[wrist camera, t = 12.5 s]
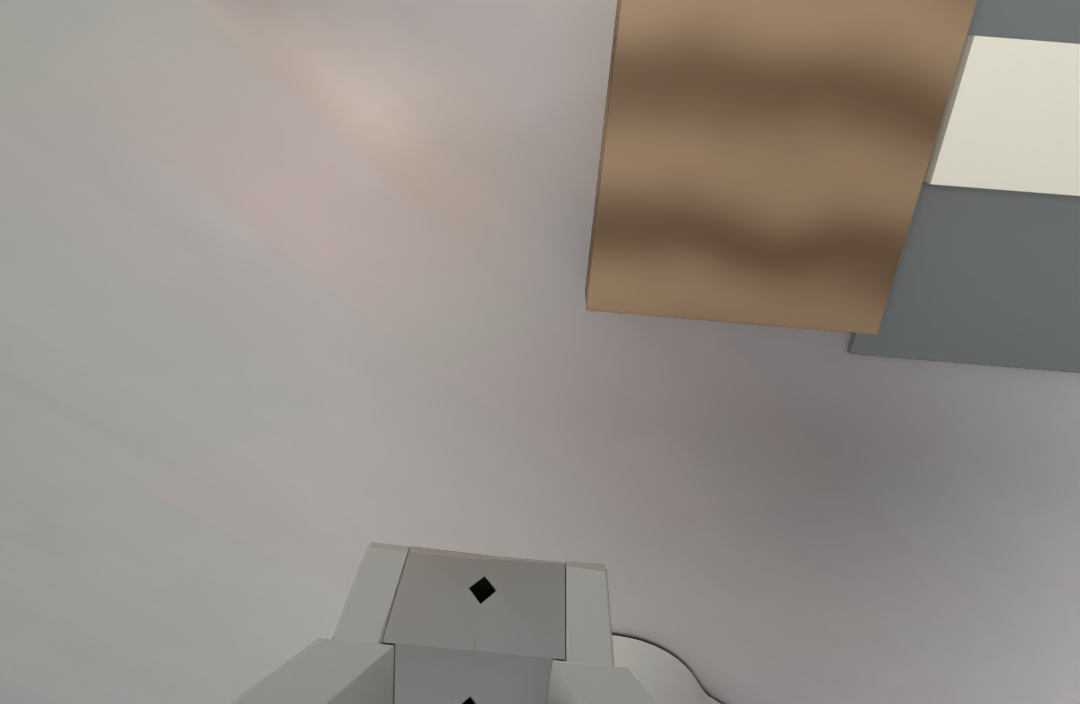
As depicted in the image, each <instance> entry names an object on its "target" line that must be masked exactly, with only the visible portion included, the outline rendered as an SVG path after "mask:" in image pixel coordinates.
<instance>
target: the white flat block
mask: <svg viewBox="0 0 1080 704" xmlns="http://www.w3.org/2000/svg"><path fill="white" fill-rule="evenodd" d="M923 181H924V182H926V183H929V184H933V185H946V186H959V187H972V188H985V189H997V190H1010V191H1023V192H1036V193H1049V194H1061V195H1074V196H1080V44H1074V43H1061V42H1049V41H1036V40H1023V39H1011V38H998V37H985V36H971V35H967V36H966V39H965V42H964V46H963V49H962V52H961V56H960V59H959V62H958V66H957V69H956V72H955V76H954V79H953V82H952V86H951V89H950V92H949V96H948V99H947V102H946V106H945V109H944V112H943V116H942V119H941V122H940V126H939V129H938V132H937V136H936V139H935V142H934V146H933V149H932V153H931V156H930V159H929V163H928V166H927V169H926V173H925V176H924V179H923Z"/></svg>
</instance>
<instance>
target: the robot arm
mask: <svg viewBox="0 0 1080 704" xmlns="http://www.w3.org/2000/svg"><path fill="white" fill-rule="evenodd" d="M231 704H721V703H719V702H717V701H716V700H714V699H712V698H711V697H709V696H708V695H707V694H706V693H705V692H704V691H703V689H702V688H701V686H700V685H699V683H698V682H697V680H696V679H695V677H694V676H693V674H692V673H691V672H690V671H689V669H688V668H687V667H686V666H685V665H684V664H682V663H681V662H680V661H679V660H678V659H676V658H675V657H674V656H672V655H671V654H669V653H667V652H666V651H664V650H662V649H660V648H658V647H656V646H654V645H651V644H649V643H646V642H643V641H639V640H636V639H632V638H627V637H621V636H614V635H612V628H611V616H610V604H609V592H608V580H607V570H606V568H605V566H604V565H603V564H591V563H577V562H565V564H564V563H563V562H554V561H543V560H532V559H521V558H510V557H499V556H488V555H481V554H473V553H464V552H456V551H448V550H439V549H431V548H423V547H415V546H412V547H408V546H401V545H392V544H384V543H375V542H372V543H371V544H370V545H369V547H368V548H367V549H366V551H365V553H364V556H363V558H362V561H361V564H360V566H359V569H358V572H357V574H356V577H355V579H354V582H353V585H352V587H351V590H350V593H349V595H348V598H347V601H346V603H345V606H344V608H343V611H342V614H341V616H340V619H339V622H338V624H337V627H336V629H335V632H334V635H333V637H332V639H321V638H319V639H318V640H316V641H315V642H314V643H312V644H311V645H310V646H308V647H307V648H305V649H304V650H303V651H301V652H300V653H299V654H297V655H296V656H295V657H293V658H292V659H291V660H289V661H288V662H286V663H285V664H284V665H282V666H281V667H280V668H278V669H277V670H276V671H274V672H273V673H271V674H270V675H269V676H267V677H266V678H265V679H263V680H262V681H261V682H259V683H258V684H256V685H255V686H254V687H252V688H251V689H250V690H248V691H247V692H246V693H244V694H243V695H242V696H240V697H239V698H237V699H236V700H235V701H233V702H232V703H231Z"/></svg>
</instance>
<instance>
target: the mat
mask: <svg viewBox="0 0 1080 704" xmlns="http://www.w3.org/2000/svg"><path fill="white" fill-rule="evenodd" d="M967 35H971V36H985V37H998V38H1011V39H1023V40H1036V41H1049V42H1061V43H1074V44H1080V0H977V2H976V6H975V9H974V12H973V16H972V19H971V22H970V26H969V29H968V32H967ZM848 352H849V353H850V354H859V355H871V356H883V357H895V358H907V359H919V360H931V361H943V362H955V363H967V364H979V365H991V366H1003V367H1015V368H1027V369H1039V370H1051V371H1063V372H1075V373H1080V196H1074V195H1061V194H1049V193H1036V192H1023V191H1010V190H997V189H985V188H972V187H959V186H946V185H933V184H929V183H926V182H924V181H923V183H922V186H921V189H920V193H919V196H918V199H917V203H916V206H915V209H914V213H913V216H912V219H911V223H910V226H909V229H908V233H907V236H906V239H905V243H904V246H903V249H902V253H901V256H900V259H899V263H898V266H897V269H896V273H895V276H894V279H893V283H892V286H891V289H890V293H889V296H888V299H887V303H886V306H885V309H884V313H883V316H882V319H881V323H880V326H879V329H878V333H877V334H865V333H852V337H851V340H850V344H849V347H848Z"/></svg>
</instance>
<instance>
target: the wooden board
mask: <svg viewBox="0 0 1080 704" xmlns="http://www.w3.org/2000/svg"><path fill="white" fill-rule="evenodd" d="M976 2H977V0H618V1H617V10H616V19H615V28H614V37H613V46H612V55H611V64H610V73H609V82H608V91H607V100H606V109H605V118H604V127H603V136H602V145H601V154H600V163H599V172H598V181H597V190H596V199H595V208H594V217H593V225H592V234H591V243H590V252H589V261H588V270H587V279H586V288H585V298H586V309H587V310H589V311H601V312H613V313H625V314H637V315H649V316H661V317H673V318H685V319H697V320H709V321H721V322H733V323H745V324H757V325H769V326H781V327H793V328H805V329H817V330H829V331H841V332H853V333H865V334H877V333H878V329H879V326H880V323H881V319H882V316H883V313H884V309H885V306H886V303H887V299H888V296H889V293H890V289H891V286H892V283H893V279H894V276H895V273H896V269H897V266H898V263H899V259H900V256H901V253H902V249H903V246H904V243H905V239H906V236H907V233H908V229H909V226H910V223H911V219H912V216H913V213H914V209H915V206H916V203H917V199H918V196H919V193H920V189H921V186H922V183H923V179H924V176H925V173H926V169H927V166H928V163H929V159H930V156H931V153H932V149H933V146H934V142H935V139H936V136H937V132H938V129H939V126H940V122H941V119H942V116H943V112H944V109H945V106H946V102H947V99H948V96H949V92H950V89H951V86H952V82H953V79H954V76H955V72H956V69H957V66H958V62H959V59H960V56H961V52H962V49H963V46H964V42H965V39H966V36H967V32H968V29H969V26H970V22H971V19H972V16H973V12H974V9H975V6H976Z"/></svg>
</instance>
